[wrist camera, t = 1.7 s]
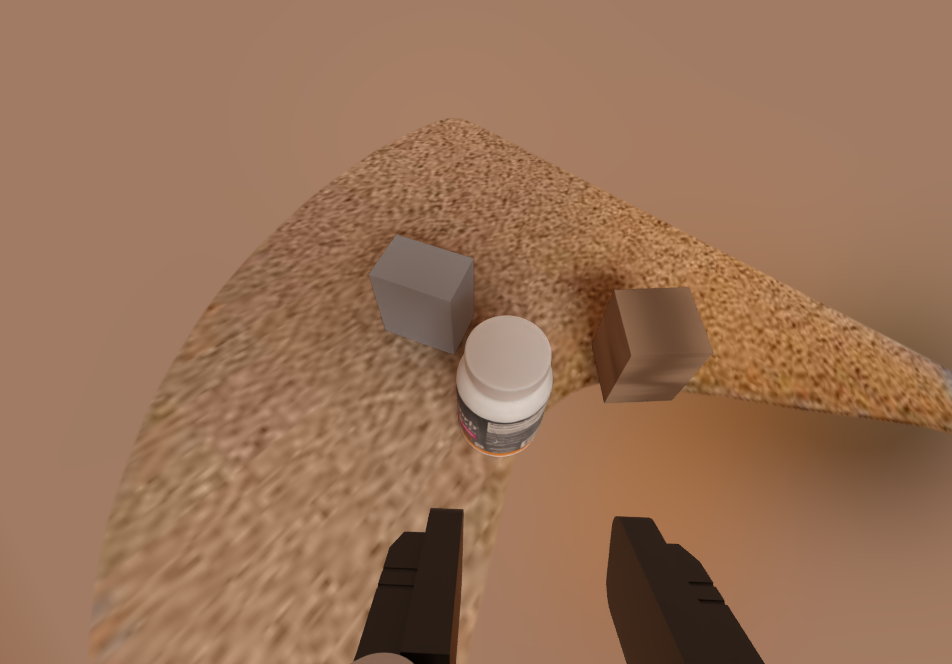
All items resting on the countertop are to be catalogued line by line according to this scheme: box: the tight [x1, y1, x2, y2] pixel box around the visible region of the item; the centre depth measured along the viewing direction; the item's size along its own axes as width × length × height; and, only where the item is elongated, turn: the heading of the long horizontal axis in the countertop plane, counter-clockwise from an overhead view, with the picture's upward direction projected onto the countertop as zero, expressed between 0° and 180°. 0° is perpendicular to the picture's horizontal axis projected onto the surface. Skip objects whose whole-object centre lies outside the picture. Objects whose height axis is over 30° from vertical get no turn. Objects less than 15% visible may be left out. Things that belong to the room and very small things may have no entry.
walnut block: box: [592, 287, 714, 403], centre depth 32 cm, size 5×5×7 cm
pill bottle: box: [456, 315, 553, 457], centre depth 29 cm, size 6×6×10 cm
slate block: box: [369, 234, 474, 355], centre depth 34 cm, size 6×4×7 cm, turn 68°
